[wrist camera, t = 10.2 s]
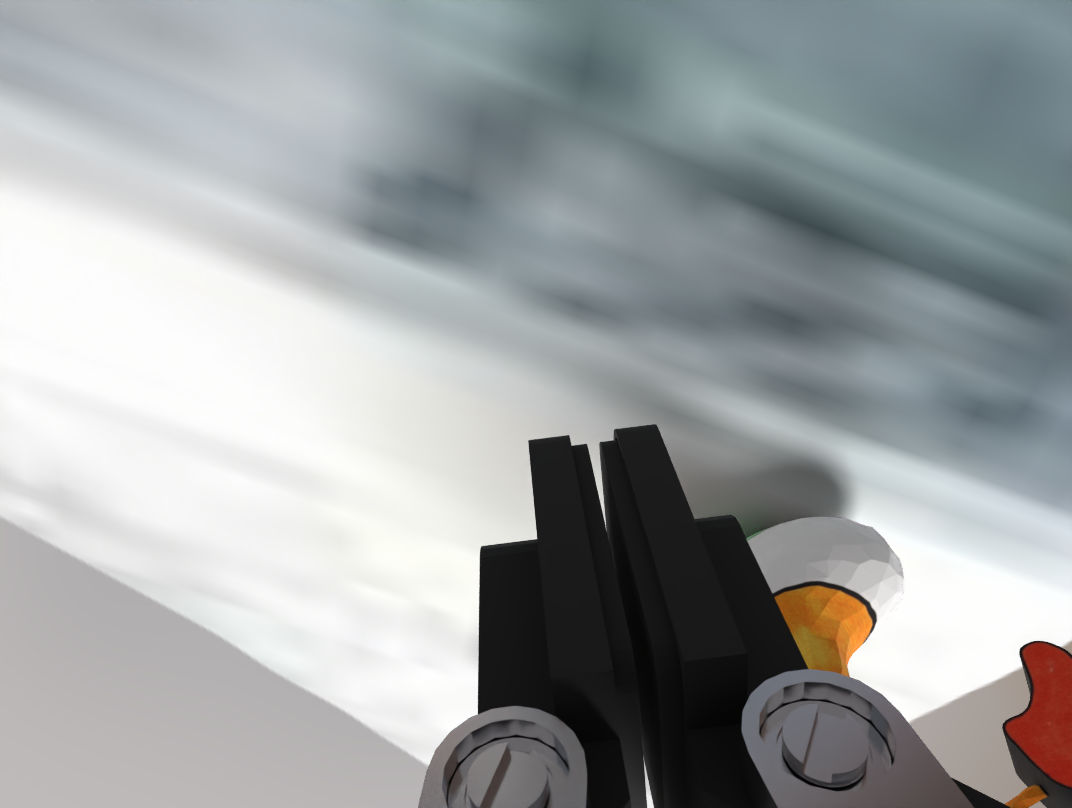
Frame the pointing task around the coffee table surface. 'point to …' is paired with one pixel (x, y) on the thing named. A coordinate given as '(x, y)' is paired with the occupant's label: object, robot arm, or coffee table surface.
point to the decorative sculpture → (865, 604)
